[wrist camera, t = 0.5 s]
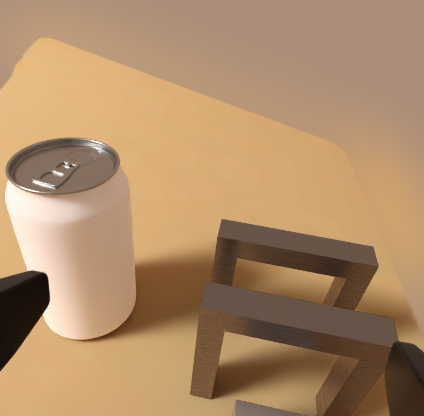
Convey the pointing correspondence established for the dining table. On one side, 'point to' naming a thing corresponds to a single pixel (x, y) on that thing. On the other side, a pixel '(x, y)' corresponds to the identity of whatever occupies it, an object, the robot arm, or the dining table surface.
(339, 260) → the collar
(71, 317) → the can
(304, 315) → the collar
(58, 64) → the dining table surface
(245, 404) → the grey banded block
